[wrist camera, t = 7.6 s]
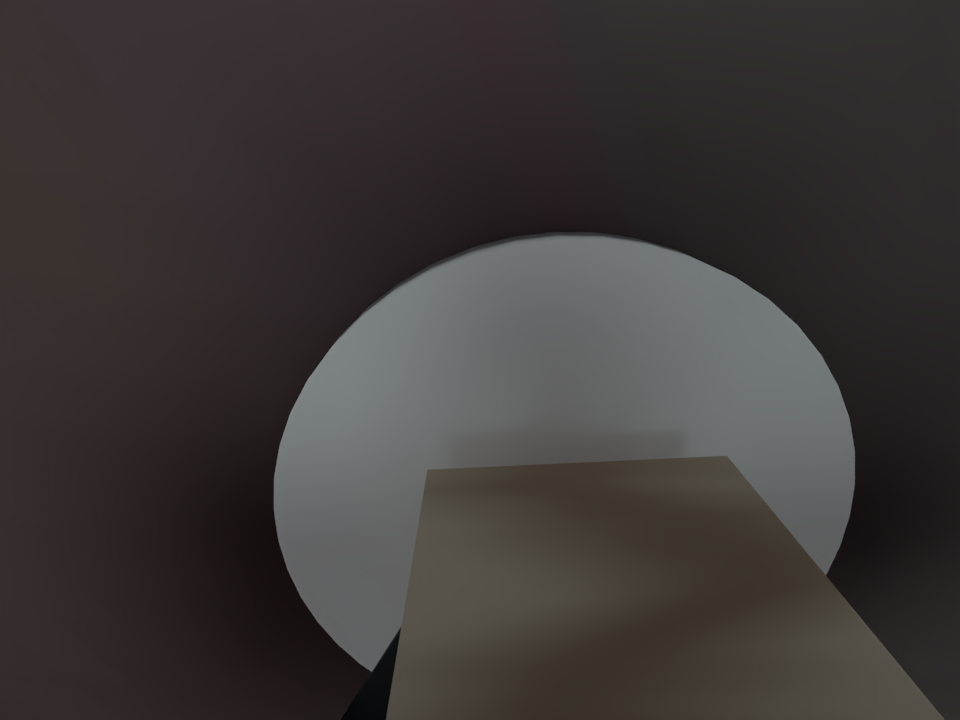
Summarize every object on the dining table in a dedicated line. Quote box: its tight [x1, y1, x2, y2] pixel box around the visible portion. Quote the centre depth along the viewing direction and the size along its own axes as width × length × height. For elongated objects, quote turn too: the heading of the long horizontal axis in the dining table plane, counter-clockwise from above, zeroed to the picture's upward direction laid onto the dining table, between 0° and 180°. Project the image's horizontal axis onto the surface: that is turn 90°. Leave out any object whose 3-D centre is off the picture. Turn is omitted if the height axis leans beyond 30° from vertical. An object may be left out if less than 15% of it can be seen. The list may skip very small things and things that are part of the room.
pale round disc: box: [274, 232, 855, 672], centre depth 12 cm, size 12×12×1 cm
